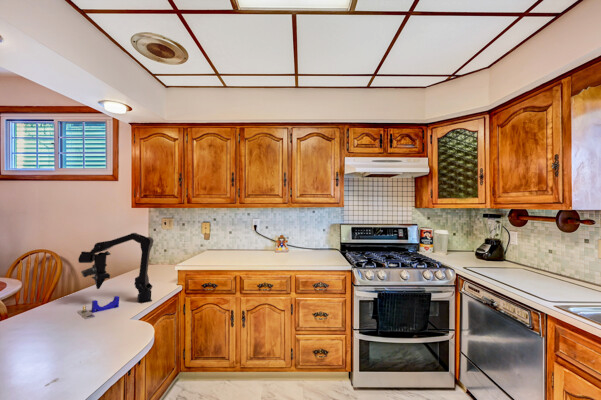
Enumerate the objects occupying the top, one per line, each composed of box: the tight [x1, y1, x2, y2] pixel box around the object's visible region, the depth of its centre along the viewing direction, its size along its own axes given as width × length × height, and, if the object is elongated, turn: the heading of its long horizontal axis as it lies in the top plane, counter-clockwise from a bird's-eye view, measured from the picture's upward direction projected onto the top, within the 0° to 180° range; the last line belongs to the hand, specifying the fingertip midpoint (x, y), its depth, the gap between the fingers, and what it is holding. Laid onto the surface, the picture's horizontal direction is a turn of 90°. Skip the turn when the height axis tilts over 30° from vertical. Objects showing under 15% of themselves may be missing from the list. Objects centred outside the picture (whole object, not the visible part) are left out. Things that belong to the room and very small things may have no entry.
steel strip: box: [76, 305, 96, 320], centre depth 139 cm, size 4×16×4 cm, turn 51°
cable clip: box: [91, 295, 120, 314], centre depth 148 cm, size 12×4×6 cm, turn 145°
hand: (98, 288), depth 158 cm, fingers closed
